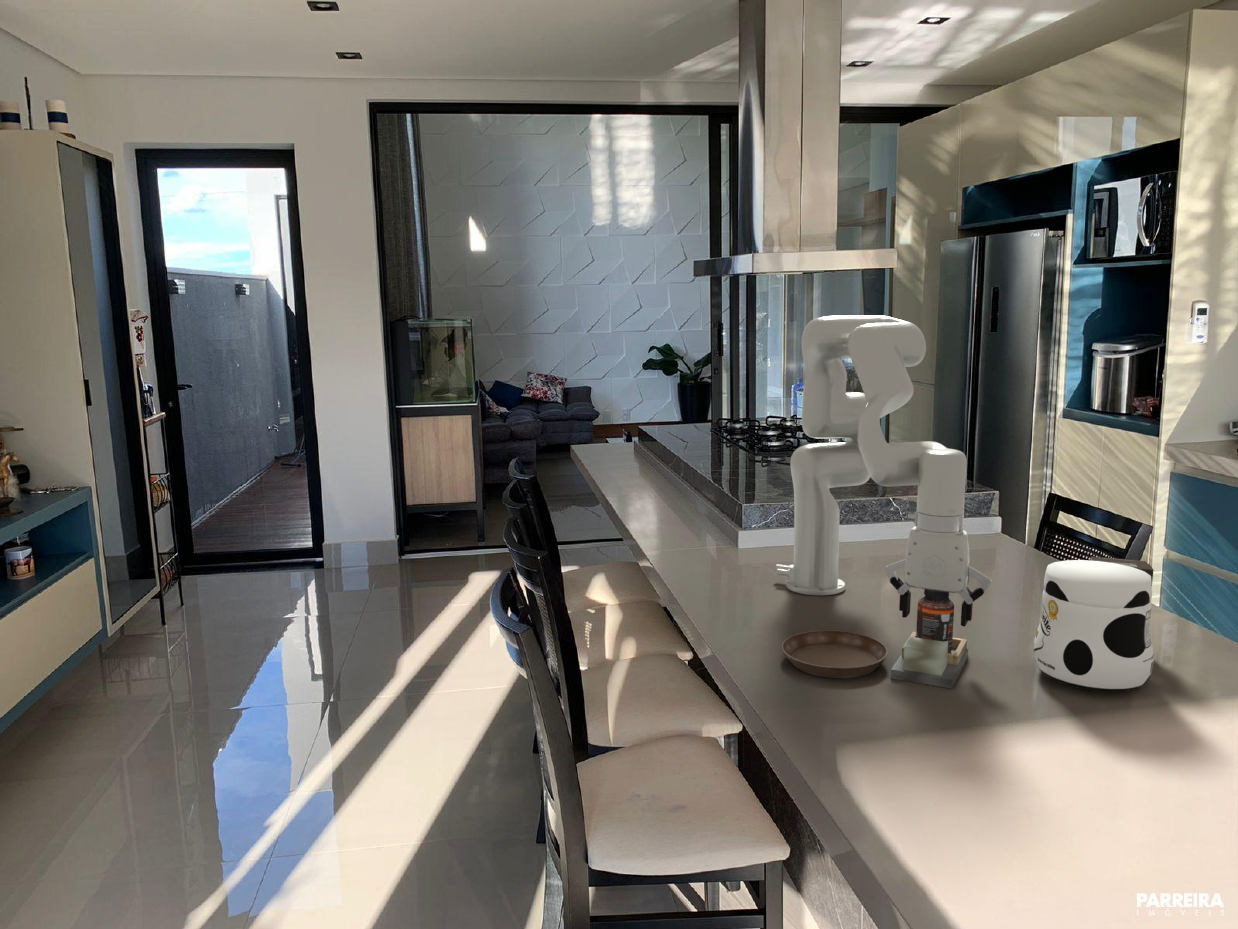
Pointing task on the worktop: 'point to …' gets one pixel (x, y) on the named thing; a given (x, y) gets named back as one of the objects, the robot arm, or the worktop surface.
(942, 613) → the supplement bottle
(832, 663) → the plant saucer
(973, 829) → the worktop surface
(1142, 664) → the milk container
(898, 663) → the base
